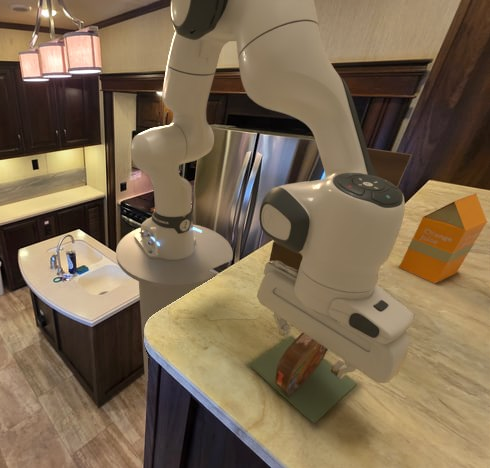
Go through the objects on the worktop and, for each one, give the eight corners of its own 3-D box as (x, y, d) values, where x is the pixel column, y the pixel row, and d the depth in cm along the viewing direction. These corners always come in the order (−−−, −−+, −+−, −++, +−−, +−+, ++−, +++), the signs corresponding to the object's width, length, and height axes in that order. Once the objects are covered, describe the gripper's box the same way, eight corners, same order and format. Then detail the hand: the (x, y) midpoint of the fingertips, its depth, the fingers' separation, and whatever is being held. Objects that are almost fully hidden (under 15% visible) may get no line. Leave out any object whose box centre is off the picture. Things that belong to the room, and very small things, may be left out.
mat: (249, 365, 54) (249, 364, 53) (290, 337, 58) (291, 336, 58) (313, 424, 44) (314, 422, 44) (356, 385, 49) (357, 383, 49)
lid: (410, 154, 60) (420, 152, 63) (343, 145, 71) (353, 143, 73) (373, 239, 69) (383, 234, 71) (318, 219, 80) (328, 216, 82)
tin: (285, 404, 47) (296, 371, 42) (266, 390, 49) (275, 357, 45) (328, 354, 54) (341, 322, 50) (310, 343, 56) (321, 312, 52)
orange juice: (457, 273, 71) (502, 198, 62) (435, 283, 69) (479, 207, 59) (418, 257, 78) (454, 187, 68) (397, 267, 75) (431, 195, 65)
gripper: (255, 261, 48) (244, 320, 55) (407, 346, 33) (366, 414, 39) (279, 249, 51) (266, 307, 58) (432, 322, 35) (389, 391, 42)
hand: (308, 352), depth 48 cm, fingers open, 8 cm apart
